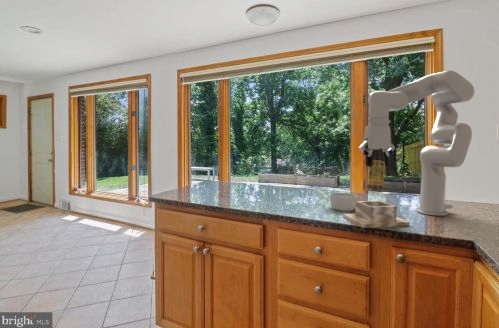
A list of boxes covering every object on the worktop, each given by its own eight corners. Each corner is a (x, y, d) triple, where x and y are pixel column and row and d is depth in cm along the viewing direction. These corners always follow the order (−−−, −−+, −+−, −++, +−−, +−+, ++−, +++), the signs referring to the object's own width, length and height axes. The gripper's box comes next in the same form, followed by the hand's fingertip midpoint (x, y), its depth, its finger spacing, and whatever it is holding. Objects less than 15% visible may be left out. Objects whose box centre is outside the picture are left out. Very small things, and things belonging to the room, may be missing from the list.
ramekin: (359, 212, 136) (359, 198, 135) (330, 211, 138) (330, 196, 138) (354, 206, 148) (355, 193, 148) (328, 205, 151) (328, 192, 151)
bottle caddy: (384, 215, 129) (385, 199, 129) (409, 225, 114) (410, 207, 113) (343, 217, 126) (343, 200, 126) (363, 228, 111) (364, 209, 110)
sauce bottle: (367, 189, 117) (368, 140, 115) (367, 187, 123) (368, 140, 121) (384, 190, 115) (386, 140, 113) (383, 187, 120) (385, 140, 119)
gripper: (391, 123, 122) (389, 165, 123) (353, 122, 119) (352, 165, 120) (403, 122, 114) (401, 166, 116) (363, 121, 112) (362, 167, 113)
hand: (376, 165), depth 118 cm, fingers closed on sauce bottle, 6 cm apart
